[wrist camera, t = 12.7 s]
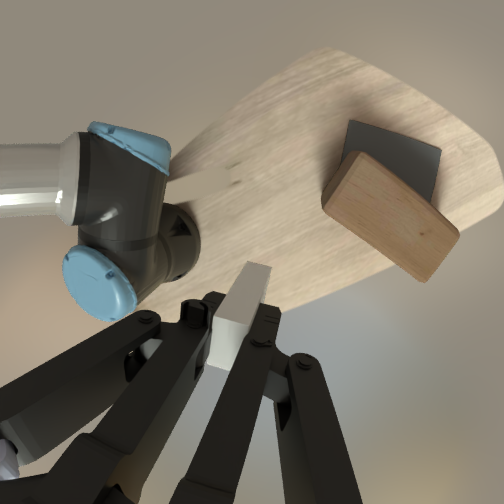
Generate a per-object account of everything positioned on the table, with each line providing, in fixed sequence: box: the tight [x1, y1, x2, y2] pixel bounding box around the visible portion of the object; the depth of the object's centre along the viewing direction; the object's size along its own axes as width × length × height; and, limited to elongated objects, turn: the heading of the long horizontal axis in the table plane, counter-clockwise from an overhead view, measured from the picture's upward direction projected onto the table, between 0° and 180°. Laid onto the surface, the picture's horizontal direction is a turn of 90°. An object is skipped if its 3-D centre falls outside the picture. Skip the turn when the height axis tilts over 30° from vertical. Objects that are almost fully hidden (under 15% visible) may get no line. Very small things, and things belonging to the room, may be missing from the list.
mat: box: [340, 120, 442, 203], centre depth 43 cm, size 17×12×1 cm
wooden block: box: [321, 151, 460, 283], centre depth 40 cm, size 10×10×20 cm
